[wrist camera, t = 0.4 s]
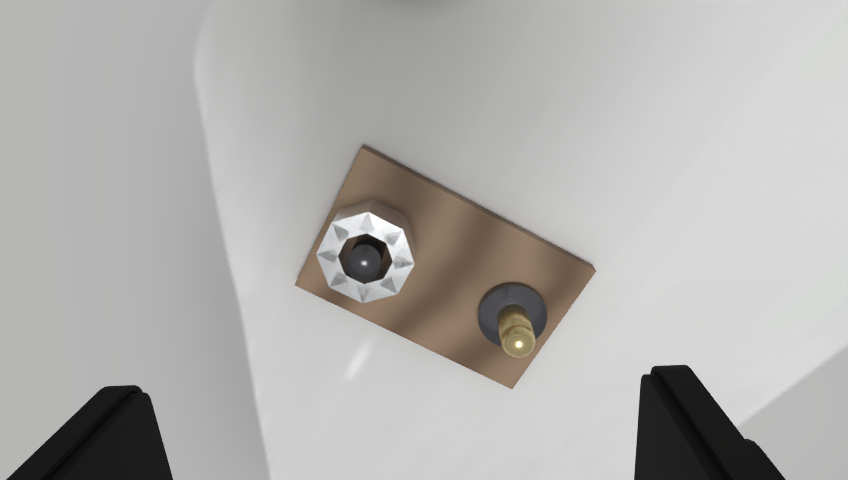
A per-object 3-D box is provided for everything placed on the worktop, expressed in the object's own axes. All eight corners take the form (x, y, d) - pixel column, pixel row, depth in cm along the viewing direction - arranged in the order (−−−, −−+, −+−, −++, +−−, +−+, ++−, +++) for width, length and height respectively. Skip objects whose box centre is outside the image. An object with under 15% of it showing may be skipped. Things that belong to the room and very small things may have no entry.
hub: (469, 291, 44) (473, 326, 39) (536, 274, 44) (549, 307, 38) (487, 348, 46) (492, 388, 41) (551, 332, 45) (565, 371, 40)
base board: (298, 278, 46) (294, 284, 45) (363, 144, 42) (361, 147, 41) (510, 381, 49) (512, 389, 48) (592, 265, 44) (596, 270, 43)
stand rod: (352, 232, 43) (341, 255, 39) (380, 224, 43) (373, 246, 38) (362, 259, 44) (352, 284, 39) (390, 251, 43) (383, 276, 39)
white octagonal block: (316, 215, 43) (306, 229, 39) (398, 191, 42) (394, 204, 38) (346, 289, 45) (338, 309, 42) (424, 268, 44) (422, 287, 41)
